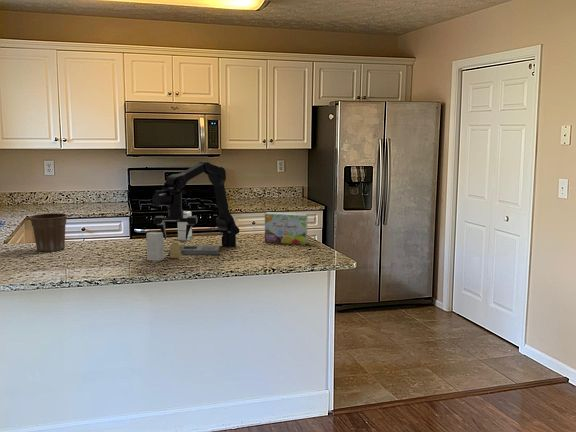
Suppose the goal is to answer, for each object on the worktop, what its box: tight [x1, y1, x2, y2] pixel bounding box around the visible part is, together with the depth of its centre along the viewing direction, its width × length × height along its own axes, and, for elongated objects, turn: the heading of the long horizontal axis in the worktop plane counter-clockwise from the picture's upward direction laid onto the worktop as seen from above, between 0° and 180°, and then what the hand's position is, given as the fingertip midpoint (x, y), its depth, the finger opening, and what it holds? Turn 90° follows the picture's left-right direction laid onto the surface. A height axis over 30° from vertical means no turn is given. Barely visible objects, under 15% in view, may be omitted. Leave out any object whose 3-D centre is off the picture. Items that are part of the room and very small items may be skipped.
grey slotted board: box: [168, 244, 221, 256], centre depth 264 cm, size 22×11×2 cm, turn 92°
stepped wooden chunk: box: [169, 240, 183, 259], centre depth 253 cm, size 4×5×7 cm
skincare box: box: [146, 231, 165, 262], centre depth 247 cm, size 6×4×12 cm
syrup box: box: [177, 210, 193, 241], centre depth 293 cm, size 6×6×14 cm
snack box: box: [264, 211, 308, 246], centre depth 287 cm, size 21×6×15 cm, turn 77°
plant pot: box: [29, 212, 68, 253], centre depth 265 cm, size 16×16×16 cm
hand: (176, 239), depth 253 cm, fingers open, 9 cm apart
